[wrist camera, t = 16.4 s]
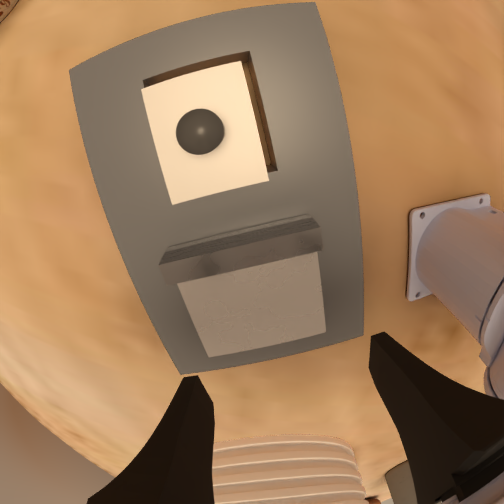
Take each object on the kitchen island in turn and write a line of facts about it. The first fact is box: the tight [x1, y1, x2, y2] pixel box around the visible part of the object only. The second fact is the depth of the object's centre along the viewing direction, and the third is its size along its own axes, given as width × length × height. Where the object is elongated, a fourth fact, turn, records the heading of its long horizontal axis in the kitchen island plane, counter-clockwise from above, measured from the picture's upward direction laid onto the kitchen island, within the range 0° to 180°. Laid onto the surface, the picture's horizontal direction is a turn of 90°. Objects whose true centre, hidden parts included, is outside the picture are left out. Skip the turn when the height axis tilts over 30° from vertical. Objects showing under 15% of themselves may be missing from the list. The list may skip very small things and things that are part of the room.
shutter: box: [158, 214, 326, 357], centre depth 16 cm, size 8×8×2 cm
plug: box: [141, 61, 269, 205], centre depth 12 cm, size 4×5×8 cm
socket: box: [69, 2, 364, 375], centre depth 16 cm, size 14×22×2 cm, turn 13°
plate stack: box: [212, 434, 369, 504], centre depth 29 cm, size 28×28×12 cm
